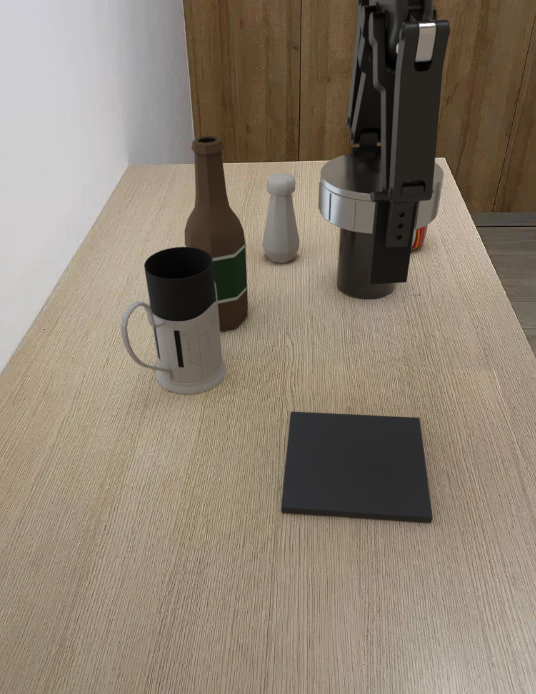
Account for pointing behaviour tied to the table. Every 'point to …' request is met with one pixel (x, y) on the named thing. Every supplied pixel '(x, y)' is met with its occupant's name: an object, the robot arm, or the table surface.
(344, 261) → the flask
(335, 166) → the flask lid
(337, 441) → the mat
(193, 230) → the beer bottle
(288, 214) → the salt shaker
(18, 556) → the table surface
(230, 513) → the table surface
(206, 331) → the glass holder
